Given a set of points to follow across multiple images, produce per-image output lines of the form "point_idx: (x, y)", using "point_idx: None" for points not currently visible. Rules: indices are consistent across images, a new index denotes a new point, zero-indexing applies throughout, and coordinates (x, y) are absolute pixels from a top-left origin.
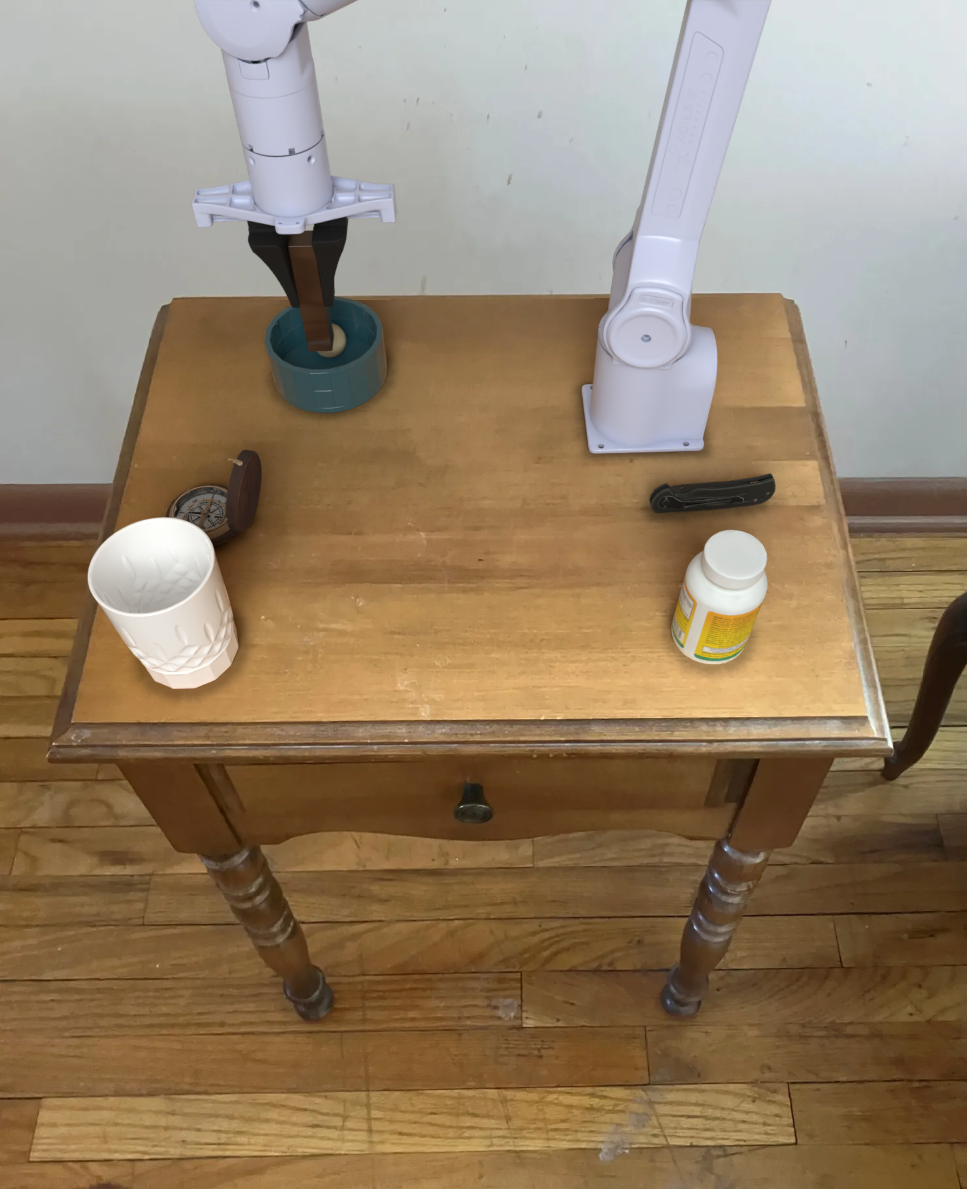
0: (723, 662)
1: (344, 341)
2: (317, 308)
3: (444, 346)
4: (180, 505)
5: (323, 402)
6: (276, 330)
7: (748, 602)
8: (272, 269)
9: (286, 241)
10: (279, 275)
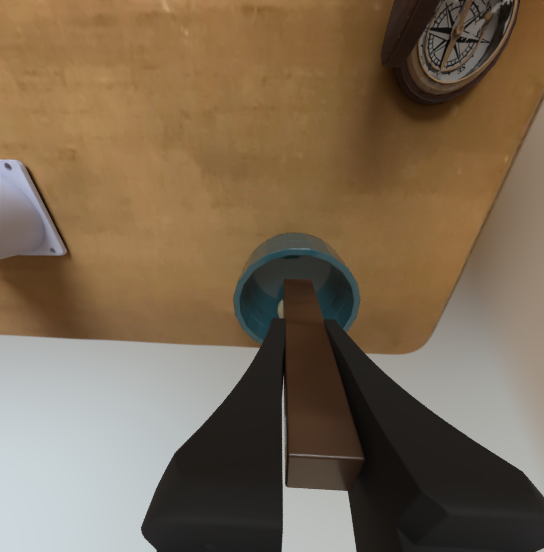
0: None
1: (278, 307)
2: (296, 316)
3: (200, 306)
4: (484, 56)
5: (297, 236)
6: (344, 317)
7: None
8: (397, 388)
9: (365, 468)
10: (373, 372)
